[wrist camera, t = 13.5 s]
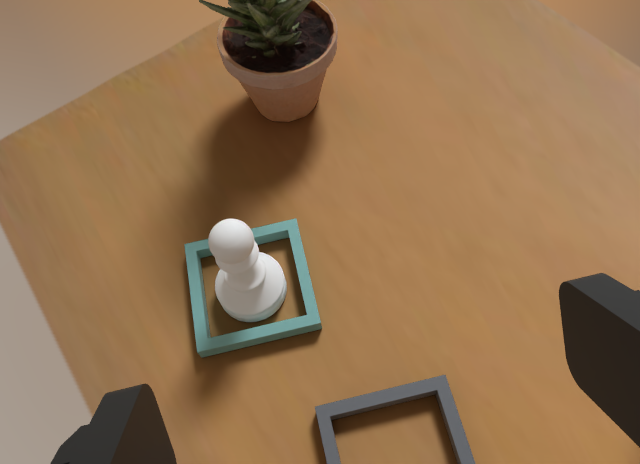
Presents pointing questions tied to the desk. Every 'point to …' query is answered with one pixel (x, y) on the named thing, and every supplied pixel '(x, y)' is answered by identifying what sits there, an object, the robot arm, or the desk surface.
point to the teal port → (260, 333)
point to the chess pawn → (245, 273)
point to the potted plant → (278, 52)
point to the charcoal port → (393, 397)
